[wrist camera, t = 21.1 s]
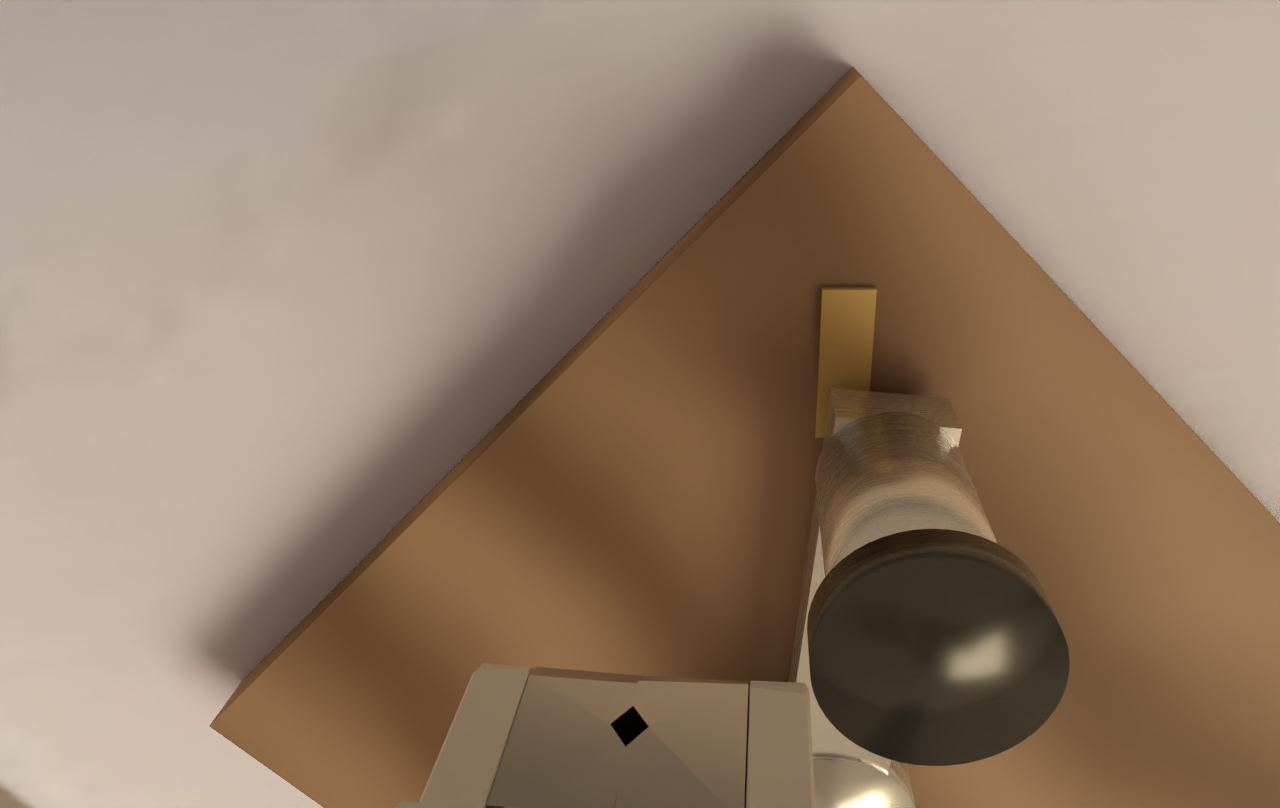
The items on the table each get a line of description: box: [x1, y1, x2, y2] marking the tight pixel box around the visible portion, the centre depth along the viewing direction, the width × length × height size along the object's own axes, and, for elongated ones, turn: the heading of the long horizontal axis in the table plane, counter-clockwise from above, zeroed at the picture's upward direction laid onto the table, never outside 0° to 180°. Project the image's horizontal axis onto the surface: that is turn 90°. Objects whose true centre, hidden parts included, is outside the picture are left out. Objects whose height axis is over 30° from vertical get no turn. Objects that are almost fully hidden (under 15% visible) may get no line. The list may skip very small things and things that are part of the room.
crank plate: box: [210, 67, 1280, 808], centre depth 21 cm, size 20×20×2 cm
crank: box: [747, 388, 1070, 808], centre depth 16 cm, size 11×4×6 cm, turn 177°
